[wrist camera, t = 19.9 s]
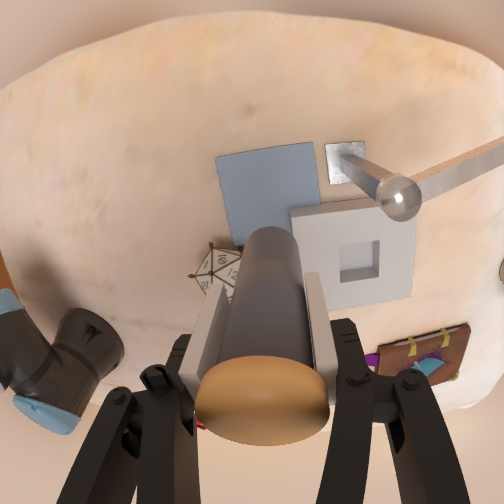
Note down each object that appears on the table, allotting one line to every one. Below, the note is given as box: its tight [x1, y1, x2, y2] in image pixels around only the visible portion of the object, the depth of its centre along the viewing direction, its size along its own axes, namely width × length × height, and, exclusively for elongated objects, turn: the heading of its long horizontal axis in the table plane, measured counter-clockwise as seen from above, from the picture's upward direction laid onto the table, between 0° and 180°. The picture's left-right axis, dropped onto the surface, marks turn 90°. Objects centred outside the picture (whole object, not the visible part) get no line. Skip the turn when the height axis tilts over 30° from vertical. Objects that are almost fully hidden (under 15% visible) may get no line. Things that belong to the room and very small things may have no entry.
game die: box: [188, 242, 243, 304], centre depth 37 cm, size 9×8×10 cm
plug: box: [194, 226, 330, 446], centre depth 15 cm, size 5×5×14 cm
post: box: [325, 141, 393, 202], centre depth 26 cm, size 5×5×16 cm
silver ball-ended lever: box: [376, 136, 504, 222], centre depth 17 cm, size 3×16×2 cm, turn 118°
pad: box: [215, 142, 321, 246], centre depth 36 cm, size 12×12×1 cm
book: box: [365, 324, 471, 386], centre depth 47 cm, size 16×25×5 cm, turn 101°
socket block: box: [290, 198, 417, 311], centre depth 37 cm, size 16×14×4 cm
